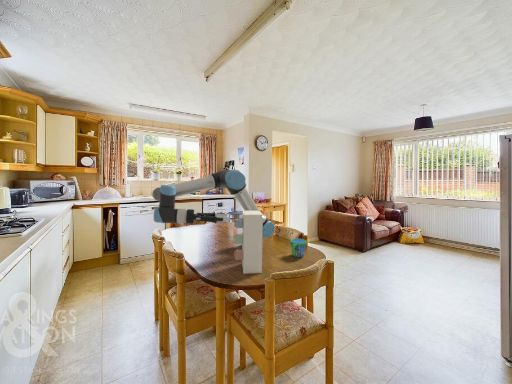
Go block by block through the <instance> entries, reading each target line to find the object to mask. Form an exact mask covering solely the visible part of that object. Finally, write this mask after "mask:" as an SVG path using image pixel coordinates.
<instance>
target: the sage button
mask: <svg viewBox="0 0 512 384" xmlns="http://www.w3.org/2000/svg"><path fill="white" fill-rule="evenodd" d="M233 240H234V242H233V243H235V244H236V245H241V244H243V234H242V233H240V234H239V233H237V234H235V235H234V239H233Z"/></svg>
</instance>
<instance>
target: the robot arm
mask: <svg viewBox="0 0 512 384" xmlns="http://www.w3.org/2000/svg"><path fill="white" fill-rule="evenodd" d="M246 182H247V181H246V176H245V174H244V172H242V171H240V170H238V169H223V170H219V171H217V172H213V173H210V174H209V173H208V175H207V176H204V177H203V176H202V177H199V178H196V179H190V180H187V181H183V182H179V183H178V182H177V183H175V184H170V185H168V184H167V185H166V184H162V185H160V186H159V187H156V188H154V189H153V190H152V193H151V194H152V198H153V199H154V200H155V201H157V202H159V205H158V207H156V208H154V211H153V221H154V222H155V223H159V224H179V225H181V224H187V225H189V224H191V225H193V224H194V221H196V222H206V223H214V224H217V223H229V222H230V216H228V213H216V211H213V212H196V213H195V209H188V208H187V209H185V208H176V207H175V206H176V198H178V197H182V196H185V195H186V196H187V195H190V194H193V193H197V192H201V191H204V190H209V189H212V190H214V189H227V191H228V192H229V194H230V195H231V196H234V197H235V199H236V200H237V202H238V203H239V205H240V206H241V208H242V209H243V211H260V212H261V210H260V208H259V207H258V206H257V204H256V202H255V201H254V199H253V197H252V196H251V194H250V193H249V191H248V189H247V183H246ZM275 229H276V226H275V224H274V222H272V221H271V220H269V219H268V218H267V216H266V214H263V230H262V239H263V238H265V239H268V238H270V237H272V236H273V235H274V232H275ZM240 245H241V248H242V244H240Z"/></svg>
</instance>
